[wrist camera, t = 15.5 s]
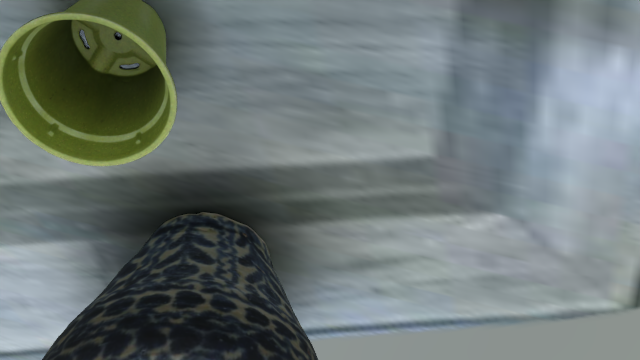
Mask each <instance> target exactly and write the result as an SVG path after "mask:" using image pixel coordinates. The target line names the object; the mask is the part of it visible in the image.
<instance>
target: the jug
mask: <svg viewBox="0 0 640 360" xmlns="http://www.w3.org/2000/svg"><path fill="white" fill-rule="evenodd" d="M269 253H270V251H269V249H268V248H267V246H266V244H265V242H264V241H263V240H262V239H261V238H260V237H259V236H258V235H257V234H256V232H254V231H253V230H252V229H251V228H250V227H249V226H247V225H244V224H241V223H239V222H236V221H234V220H232V219H229V218H227V217H224V216H222V215H219V214H214V213H206V212H201V213H199V214H185V215H181V216H177V217H175V218H173V219H170V220H168V221H166V222H165V223H164V224H162V225H161V226H160V227H159V228H158V229H157V230H156V231H155V233H154V234H153V235H152V236H151V238H150V239H149V240H148V241H147V242H146V244H145V245H144V247H143V248H142V249H141V250H140V251H139V253H138V254H137V255H135V256H134V257H133V258H132V259H131V260H130V261H129V262H128V263H127V264H126V265H125V266H124V267H123V268H122V269H121V271H120V272H119V273H118V274H117V275H116V277H115V278H114V279H113V280H112V281H111V283H110V284H109V285H108V286H107V288H106V289H105V290H104V291H103V292H102V293H101V294H100V295H99V296H98V297H97V298H96V299H95V300H94V301H93V302H92V303H91V304H90V305H89V306H88V307H86V308H85V309H84V310H83V311H82V312H81V313H80V314H79V315H78V316H77V317H76V318H75V319H74V320H73V321H72V322H71V323H70V324H69V325H68V327H67V328H66V329H65V330H64V331H63V333H62V334H61V335H60V336H59V337H58V338H57V339H56V341H55V342H54V344H53V345H52V346H51V348H50V349H49V351H48V352H47V353H46V355H45V356H44V358H43V359H42V360H318V358H317V356H316V353H315V351H314V348H313V346H312V344H311V342H310V340H309V339H308V337H307V335H306V334H305V332H304V330H303V329H302V327H301V325H300V323H299V321H298V319H297V318H296V316H295V314H294V312H293V310H292V307H291V305H290V303H289V301H288V298H287V296H286V294H285V292H284V290H283V287H282V285H281V283H280V281H279V279H278V277H277V275H276V274H275V272H274V269H273V266H272V262H271V259H270V255H269Z"/></svg>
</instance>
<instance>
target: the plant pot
mask: <svg viewBox="0 0 640 360" xmlns="http://www.w3.org/2000/svg"><path fill="white" fill-rule="evenodd" d="M80 30H83V31H84V33H85V36H86V40H87V42H88V45H89V46H90V49H88V48H85V46H84V44H83V42H82V40H81V38H80V35H79V31H80ZM117 32H118V33H120V34H121V36H122V39H121V40H117V39H115V36H114V34H115V33H117ZM134 63H139V64H140V66H139V67H138V68H136V69H129V70H126V69H122V68H120V65H130V64H134ZM0 101H1V104H2V105H3V107H4V109H5V111H6V113H7V115H8V117H9V118H10V119H11V121H12V122H13V123H14V124H15V126H16V127H17V128H18V129H19V130H20V131H21V133H22V134H23V135H24V136H26V137H27V138H28V139H29V140H30V141H31V142H33V143H34V144H36V145H37V146H39V147H40V148H42V149H44V150H45V151H47V152H48V153H50V154H52V155H55V156H57V157H59V158H62V159H64V160H67V161H70V162H74V163H79V164H83V165H90V166H112V165H120V164H125V163H129V162H132V161H135V160H137V159H140V158H142V157H144V156H145V155H147V154H149V153H150V152H152V151H153V150H154V149H156V148H157V147H158V146H159V145H160V144H161V143H162V142H163V140H164V139H165V138H166V137H167V135H168V134H169V132H170V130H171V128H172V126H173V124H174V121H175V116H176V111H177V94H176V88H175V84H174V81H173V78H172V76H171V74H170V71H169V70H168V68H167V66H166V33H165V29H164V26H163V24H162V21H161V19H160V18H159V16H158V14H157V13H156V12H155V10H154V9H153V8H152V7H151V6H149V5H148V4H146V3H145V2H143V1H142V0H79V1H78V2H77V3H75V4H74V5H73V6H71V7H70V8H68V9H67V10H65V11H64V12H57V13H52V14H48V15H44V16H41V17H38V18H36V19H34V20H31V21H30V22H28V23H26V24H24V25H23V26H22V27H20V28H19V29H18V30H17V31H15V32H14V33H13V34H12V35H11V36H10V37H9V38H8V40H7V41H6V43H5V44H4V46H3V47H2V49H1V51H0Z"/></svg>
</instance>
